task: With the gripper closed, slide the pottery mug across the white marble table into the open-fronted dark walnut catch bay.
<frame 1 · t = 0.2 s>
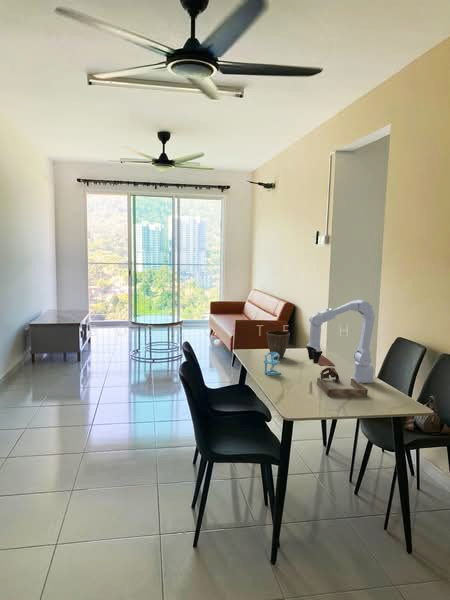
hand: (313, 361, 217), 10 cm above the table, tool pointing down, fingers open, 7 cm apart
pottery mug: (330, 380, 218), on the table
wooden tablet: (321, 361, 258), on the table
catch bay: (340, 389, 203), on the table
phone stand: (271, 373, 226), on the table
plant pot: (276, 357, 261), on the table
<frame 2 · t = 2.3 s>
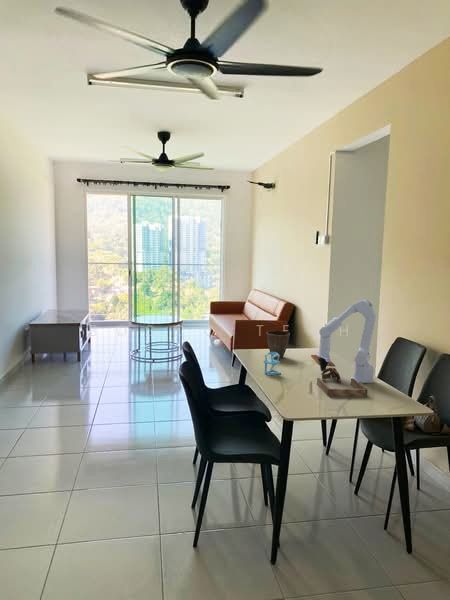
hand: (322, 370, 229), 1 cm above the table, tool pointing down, fingers closed
nothing on the table moved.
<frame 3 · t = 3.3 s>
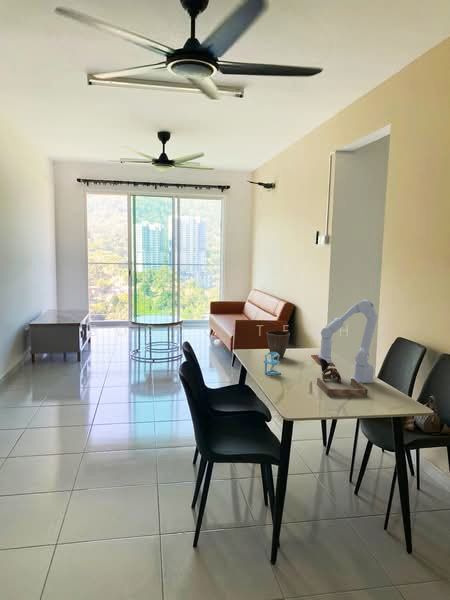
hand: (324, 372, 227), 1 cm above the table, tool pointing down, fingers closed
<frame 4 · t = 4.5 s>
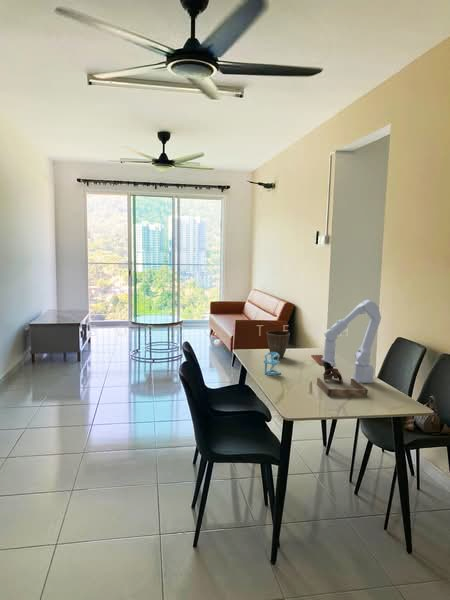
hand: (327, 375, 222), 1 cm above the table, tool pointing down, fingers closed
pottery mug: (333, 381, 216), on the table, touching gripper
everything else where it was.
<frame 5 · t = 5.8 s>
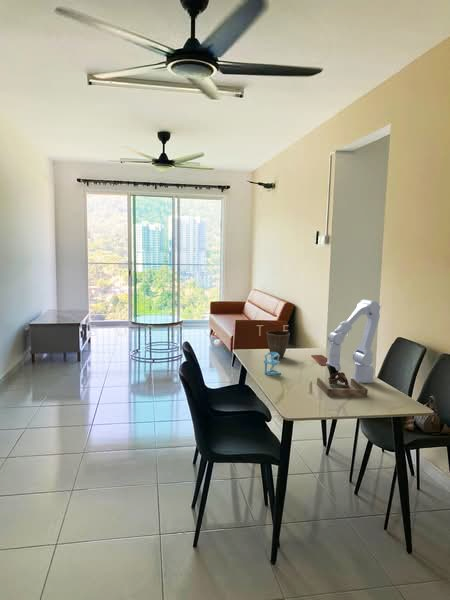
hand: (332, 379, 214), 1 cm above the table, tool pointing down, fingers closed
pottery mug: (339, 386, 209), on the table, touching gripper
everything else where it was.
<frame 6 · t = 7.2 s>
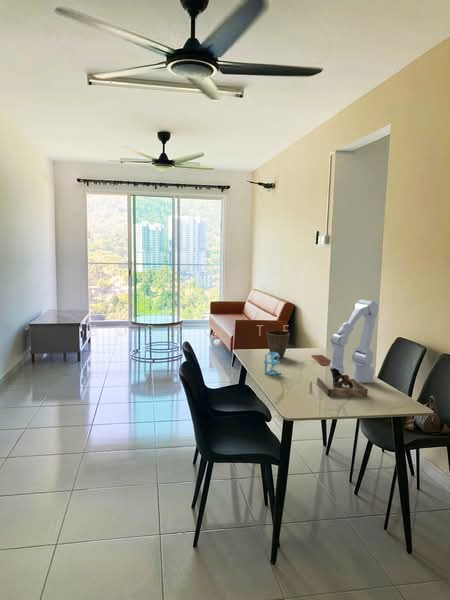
hand: (335, 382, 210), 1 cm above the table, tool pointing down, fingers closed
pottery mug: (343, 389, 205), on the table, touching gripper
everything else where it was.
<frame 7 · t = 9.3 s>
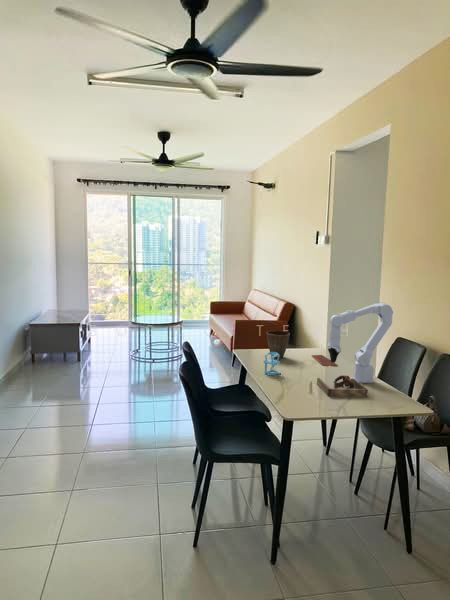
hand: (333, 361, 220), 9 cm above the table, tool pointing down, fingers closed
pottery mug: (344, 389, 204), on the table
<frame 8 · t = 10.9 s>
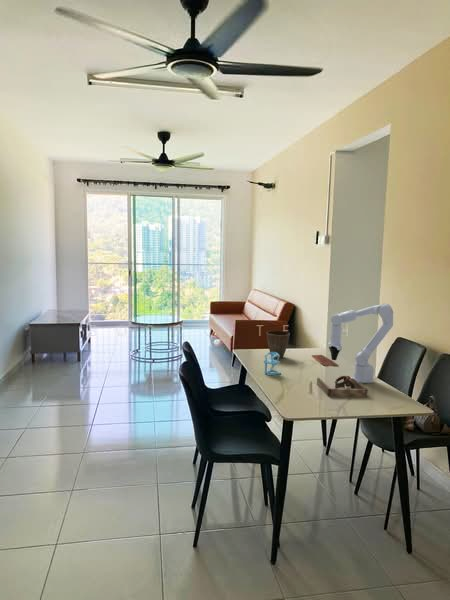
hand: (333, 359, 224), 9 cm above the table, tool pointing down, fingers closed
at the end: pottery mug inside the target area on the catch bay (2.9 cm from its centre), point 0.0 cm above the catch bay's base; pottery mug tilted 0°; pottery mug moved 14.8 cm from its start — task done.
